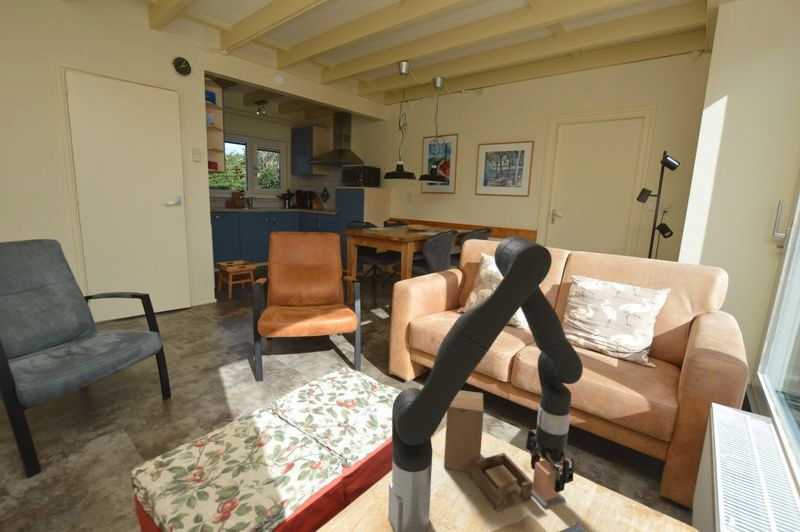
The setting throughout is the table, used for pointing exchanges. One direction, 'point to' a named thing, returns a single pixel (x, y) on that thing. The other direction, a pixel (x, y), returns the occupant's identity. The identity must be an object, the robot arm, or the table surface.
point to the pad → (548, 502)
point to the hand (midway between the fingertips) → (546, 479)
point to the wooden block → (464, 431)
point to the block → (544, 480)
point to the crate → (501, 481)
